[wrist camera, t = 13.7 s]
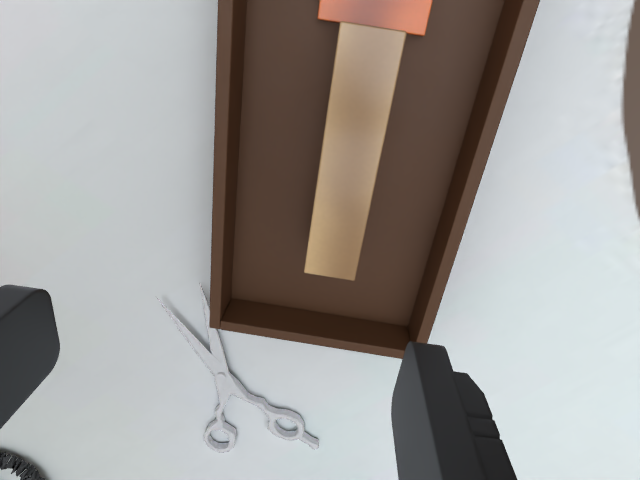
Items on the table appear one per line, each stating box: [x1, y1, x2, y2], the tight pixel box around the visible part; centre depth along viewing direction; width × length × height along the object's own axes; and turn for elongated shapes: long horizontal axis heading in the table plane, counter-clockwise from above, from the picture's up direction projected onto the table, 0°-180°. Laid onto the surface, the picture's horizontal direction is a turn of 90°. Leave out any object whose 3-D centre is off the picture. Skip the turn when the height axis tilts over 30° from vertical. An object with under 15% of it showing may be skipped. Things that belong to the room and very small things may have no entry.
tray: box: [209, 0, 540, 359], centre depth 25 cm, size 16×32×4 cm, turn 172°
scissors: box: [157, 284, 319, 453], centre depth 37 cm, size 11×1×20 cm
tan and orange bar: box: [304, 0, 433, 281], centre depth 23 cm, size 6×22×4 cm, turn 172°
